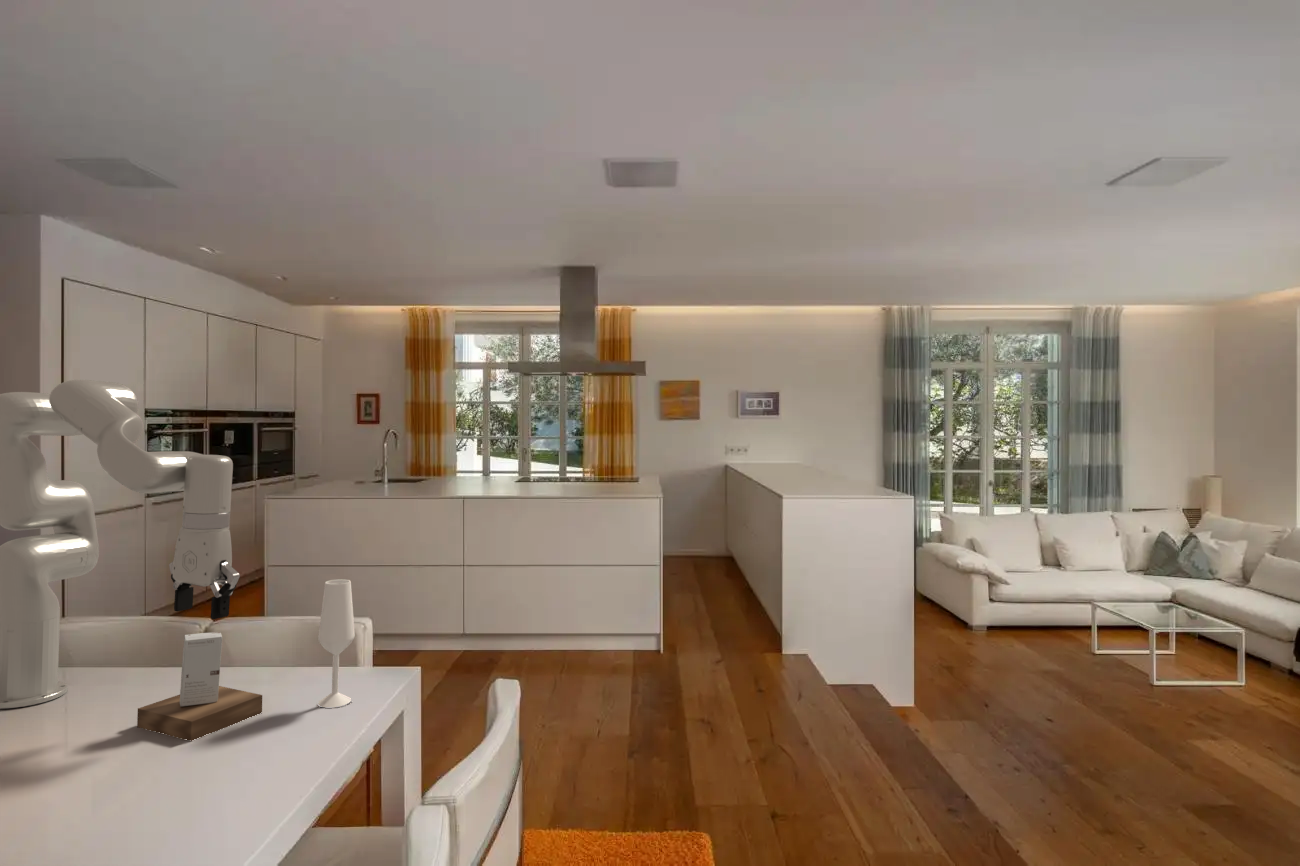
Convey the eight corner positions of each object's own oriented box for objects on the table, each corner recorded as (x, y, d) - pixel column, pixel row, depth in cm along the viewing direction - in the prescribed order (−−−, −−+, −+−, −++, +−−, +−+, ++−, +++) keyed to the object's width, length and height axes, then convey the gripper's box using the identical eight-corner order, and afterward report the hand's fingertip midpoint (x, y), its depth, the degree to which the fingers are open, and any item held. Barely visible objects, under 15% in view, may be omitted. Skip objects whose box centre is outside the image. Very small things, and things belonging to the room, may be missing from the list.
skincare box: (179, 707, 129) (183, 640, 130) (179, 700, 133) (182, 634, 133) (219, 702, 133) (222, 636, 133) (217, 694, 137) (220, 630, 137)
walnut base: (137, 730, 129) (137, 708, 129) (210, 704, 142) (210, 684, 142) (191, 744, 124) (191, 721, 124) (261, 716, 137) (262, 695, 137)
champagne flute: (312, 700, 144) (315, 580, 144) (347, 693, 148) (351, 577, 148) (320, 711, 138) (324, 586, 138) (357, 704, 142) (360, 583, 143)
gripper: (154, 518, 133) (149, 611, 133) (220, 528, 126) (215, 625, 126) (193, 515, 140) (188, 603, 140) (257, 524, 133) (252, 616, 133)
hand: (201, 613), depth 133 cm, fingers open, 9 cm apart
